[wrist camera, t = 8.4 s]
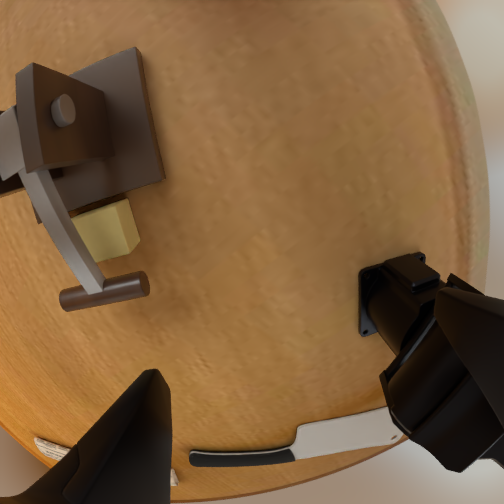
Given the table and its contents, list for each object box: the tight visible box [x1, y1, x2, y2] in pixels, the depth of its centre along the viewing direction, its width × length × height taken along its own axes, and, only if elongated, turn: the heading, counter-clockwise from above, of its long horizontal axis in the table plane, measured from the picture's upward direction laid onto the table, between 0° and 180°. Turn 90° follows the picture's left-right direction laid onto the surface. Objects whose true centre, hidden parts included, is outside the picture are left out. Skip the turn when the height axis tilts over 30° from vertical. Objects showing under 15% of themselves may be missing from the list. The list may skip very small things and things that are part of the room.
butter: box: [71, 199, 140, 263], centre depth 16 cm, size 3×4×2 cm
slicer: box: [0, 47, 166, 224], centre depth 10 cm, size 9×10×9 cm
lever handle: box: [0, 104, 150, 312], centre depth 11 cm, size 12×6×2 cm, turn 12°
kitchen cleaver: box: [189, 406, 404, 467], centre depth 28 cm, size 31×2×10 cm
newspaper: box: [34, 437, 179, 486], centre depth 27 cm, size 24×7×2 cm, turn 87°
